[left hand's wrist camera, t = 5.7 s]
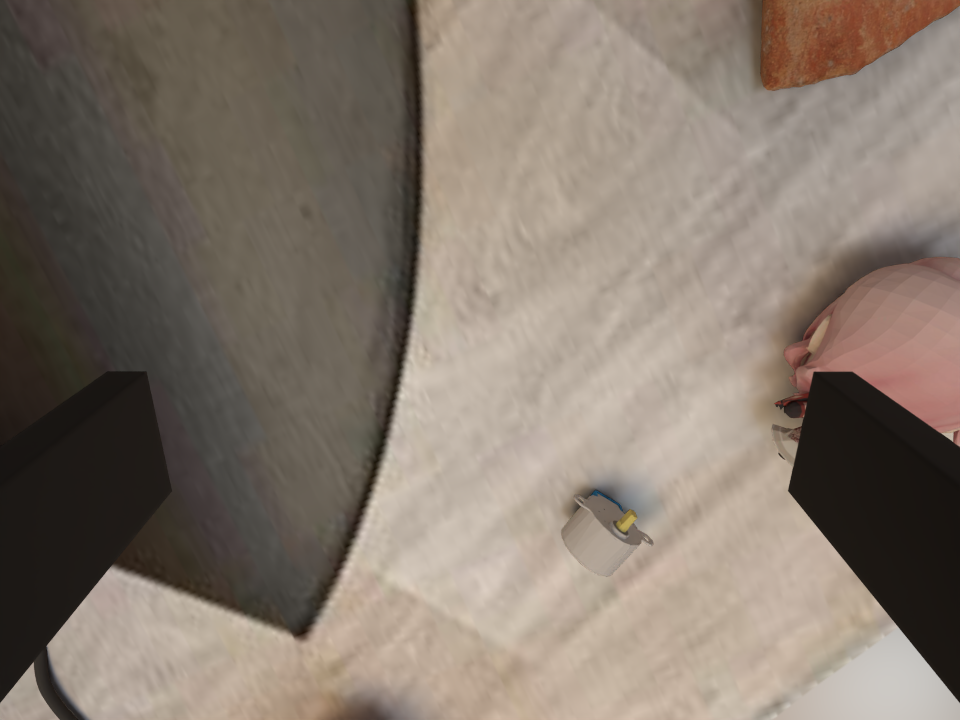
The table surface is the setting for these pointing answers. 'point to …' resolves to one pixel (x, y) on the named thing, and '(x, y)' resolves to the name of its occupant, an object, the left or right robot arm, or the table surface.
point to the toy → (887, 344)
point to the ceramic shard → (836, 35)
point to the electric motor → (602, 534)
